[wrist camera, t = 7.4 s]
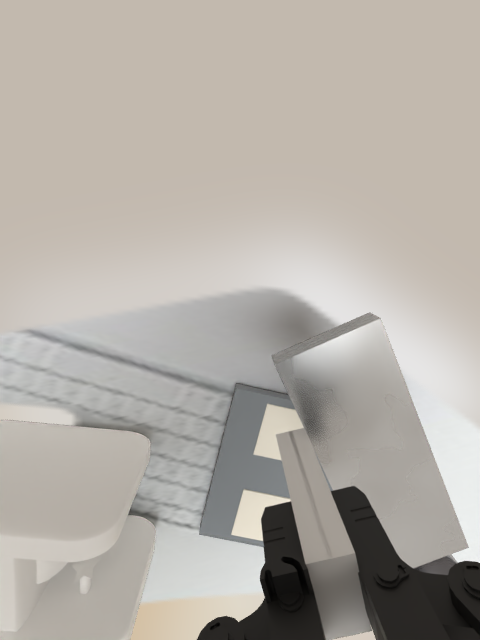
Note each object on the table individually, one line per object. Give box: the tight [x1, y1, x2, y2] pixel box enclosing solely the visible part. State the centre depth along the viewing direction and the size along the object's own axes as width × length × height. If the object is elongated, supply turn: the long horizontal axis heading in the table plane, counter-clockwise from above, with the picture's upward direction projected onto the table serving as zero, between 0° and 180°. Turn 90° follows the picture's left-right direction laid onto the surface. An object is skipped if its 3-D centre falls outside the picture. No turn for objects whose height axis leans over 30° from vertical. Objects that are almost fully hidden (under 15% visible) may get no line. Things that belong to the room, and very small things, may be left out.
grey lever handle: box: [272, 313, 469, 575], centre depth 16 cm, size 16×5×1 cm, turn 25°
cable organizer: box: [0, 420, 156, 640], centre depth 25 cm, size 15×11×12 cm
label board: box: [199, 383, 333, 547], centre depth 25 cm, size 12×14×12 cm
